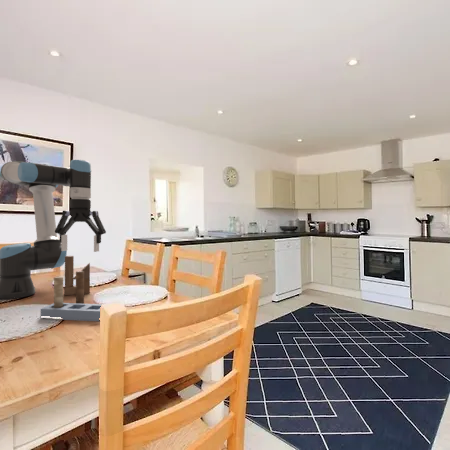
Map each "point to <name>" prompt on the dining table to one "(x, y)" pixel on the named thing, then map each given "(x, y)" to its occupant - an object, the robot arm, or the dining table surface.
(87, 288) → the wooden block
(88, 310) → the hole block
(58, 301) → the beech dowel
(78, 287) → the walnut dowel
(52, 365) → the dining table surface
